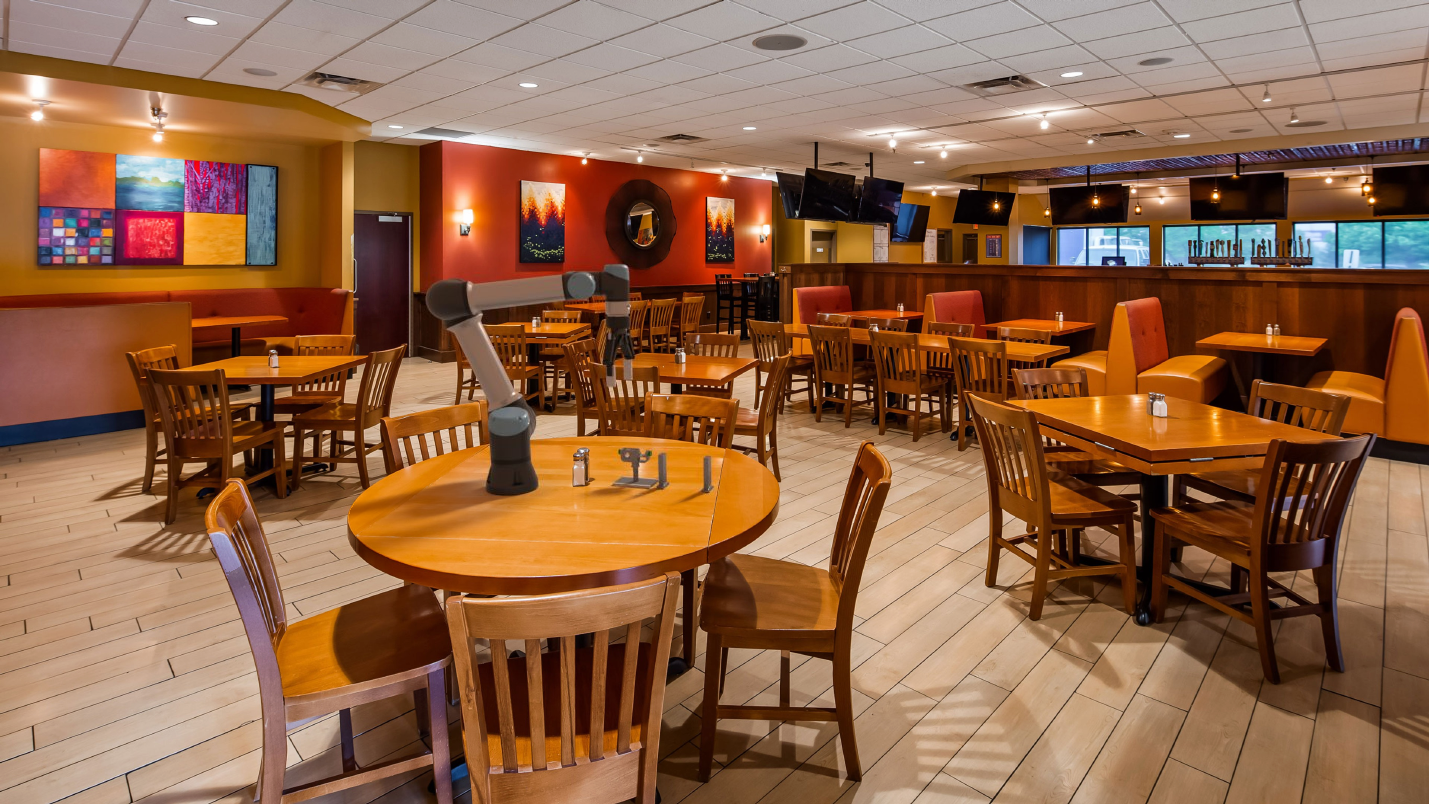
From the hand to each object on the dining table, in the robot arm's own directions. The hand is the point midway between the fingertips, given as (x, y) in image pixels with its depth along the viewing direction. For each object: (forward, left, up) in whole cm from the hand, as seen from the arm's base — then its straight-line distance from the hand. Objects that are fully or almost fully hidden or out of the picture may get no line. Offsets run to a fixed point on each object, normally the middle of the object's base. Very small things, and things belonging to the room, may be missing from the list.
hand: (619, 383), depth 244 cm
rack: (+25, -12, -29) cm, 40 cm away
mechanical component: (+9, -11, -28) cm, 32 cm away
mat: (+9, -11, -29) cm, 32 cm away
